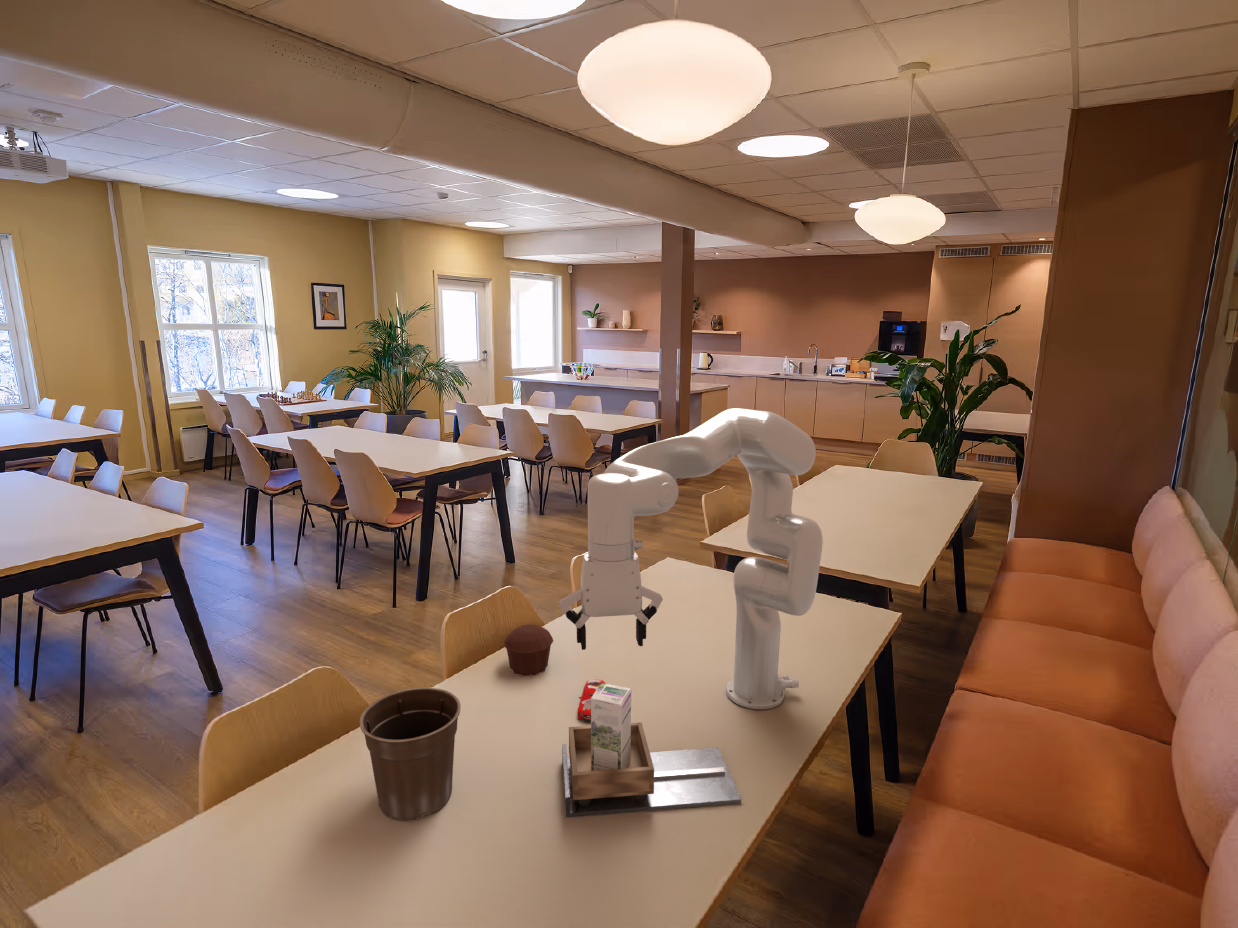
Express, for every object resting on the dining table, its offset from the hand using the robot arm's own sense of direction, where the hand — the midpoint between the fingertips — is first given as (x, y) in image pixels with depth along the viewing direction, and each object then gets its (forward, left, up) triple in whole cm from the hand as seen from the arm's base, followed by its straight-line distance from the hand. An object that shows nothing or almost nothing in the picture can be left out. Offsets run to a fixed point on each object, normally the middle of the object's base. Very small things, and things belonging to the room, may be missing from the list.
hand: (611, 644), depth 112 cm
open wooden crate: (0, 0, -27) cm, 27 cm away
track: (-7, 0, -27) cm, 28 cm away
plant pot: (+34, -1, -27) cm, 43 cm away
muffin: (+15, -44, -27) cm, 54 cm away
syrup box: (0, 0, -24) cm, 24 cm away
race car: (+1, -25, -27) cm, 37 cm away
